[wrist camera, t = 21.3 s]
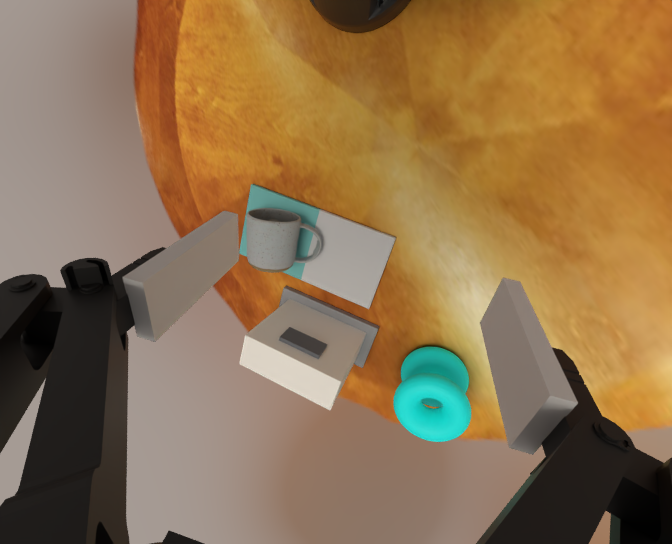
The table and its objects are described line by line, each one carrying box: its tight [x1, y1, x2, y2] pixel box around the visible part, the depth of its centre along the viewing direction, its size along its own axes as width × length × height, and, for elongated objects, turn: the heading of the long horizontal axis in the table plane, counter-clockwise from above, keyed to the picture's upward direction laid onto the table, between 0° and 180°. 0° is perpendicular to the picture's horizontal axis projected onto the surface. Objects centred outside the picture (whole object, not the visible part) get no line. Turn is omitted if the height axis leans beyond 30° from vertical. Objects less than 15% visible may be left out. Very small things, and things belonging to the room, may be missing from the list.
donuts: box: [394, 347, 471, 442], centre depth 47 cm, size 10×10×10 cm
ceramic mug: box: [246, 208, 322, 272], centre depth 48 cm, size 11×8×8 cm
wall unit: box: [240, 286, 379, 410], centre depth 49 cm, size 8×17×14 cm, turn 73°
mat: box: [239, 184, 396, 309], centre depth 51 cm, size 12×24×1 cm, turn 73°
